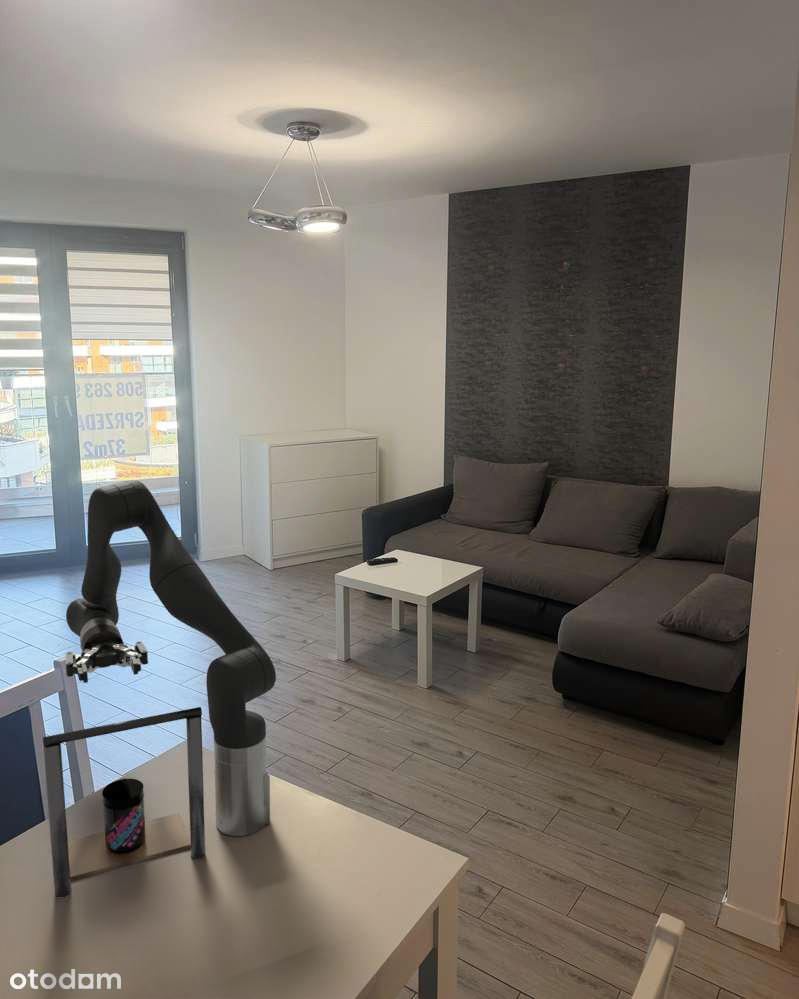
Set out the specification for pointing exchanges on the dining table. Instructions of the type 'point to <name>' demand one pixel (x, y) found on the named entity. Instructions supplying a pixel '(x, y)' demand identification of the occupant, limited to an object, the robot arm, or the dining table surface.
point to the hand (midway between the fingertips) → (111, 673)
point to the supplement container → (124, 815)
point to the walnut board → (160, 840)
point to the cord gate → (54, 741)
